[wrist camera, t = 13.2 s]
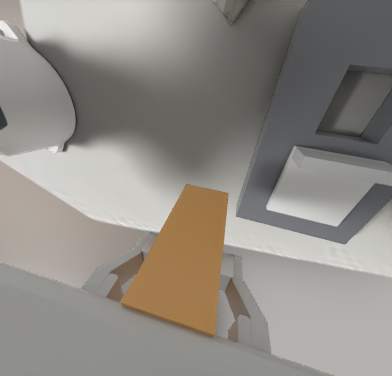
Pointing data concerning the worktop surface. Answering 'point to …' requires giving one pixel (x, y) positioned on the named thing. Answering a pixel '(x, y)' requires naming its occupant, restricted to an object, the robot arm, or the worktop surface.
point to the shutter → (325, 184)
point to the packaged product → (231, 7)
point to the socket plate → (323, 109)
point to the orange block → (184, 263)
